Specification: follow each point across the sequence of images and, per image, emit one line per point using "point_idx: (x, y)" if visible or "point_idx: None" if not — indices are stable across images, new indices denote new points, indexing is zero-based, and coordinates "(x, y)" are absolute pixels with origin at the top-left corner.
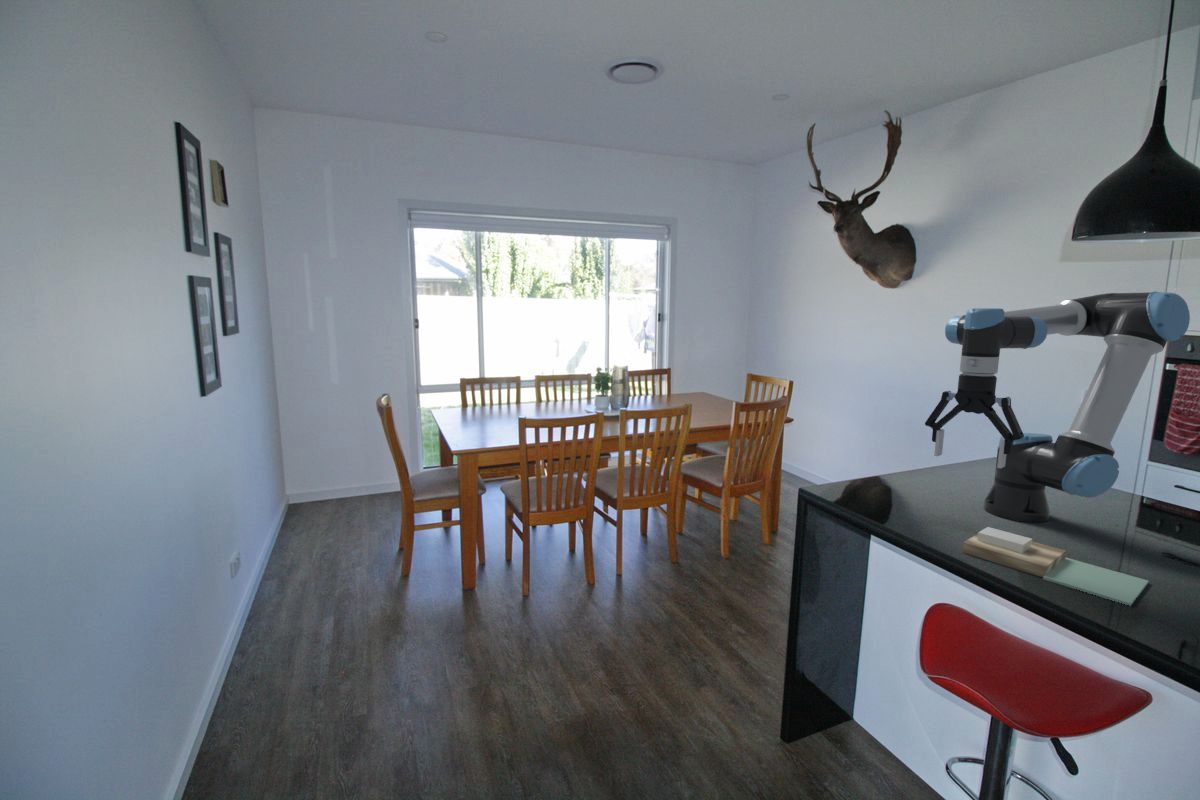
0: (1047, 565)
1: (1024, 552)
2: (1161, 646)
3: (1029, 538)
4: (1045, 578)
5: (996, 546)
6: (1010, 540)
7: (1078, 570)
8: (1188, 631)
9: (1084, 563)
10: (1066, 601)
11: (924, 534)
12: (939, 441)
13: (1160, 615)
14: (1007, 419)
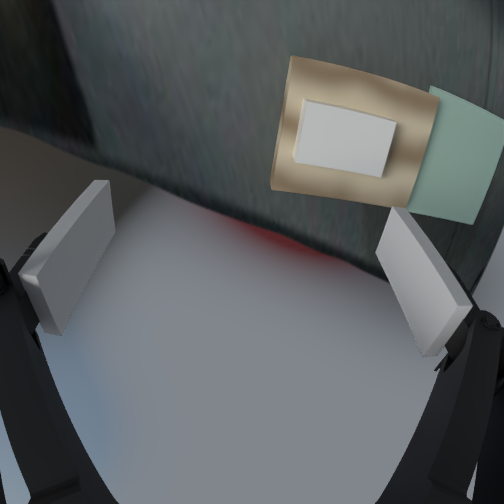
0: (407, 201)
1: None
2: None
3: (392, 123)
4: None
5: None
6: (359, 166)
7: (444, 142)
8: (494, 246)
9: (454, 99)
10: None
11: (178, 134)
12: (85, 278)
13: (488, 224)
14: (480, 470)
